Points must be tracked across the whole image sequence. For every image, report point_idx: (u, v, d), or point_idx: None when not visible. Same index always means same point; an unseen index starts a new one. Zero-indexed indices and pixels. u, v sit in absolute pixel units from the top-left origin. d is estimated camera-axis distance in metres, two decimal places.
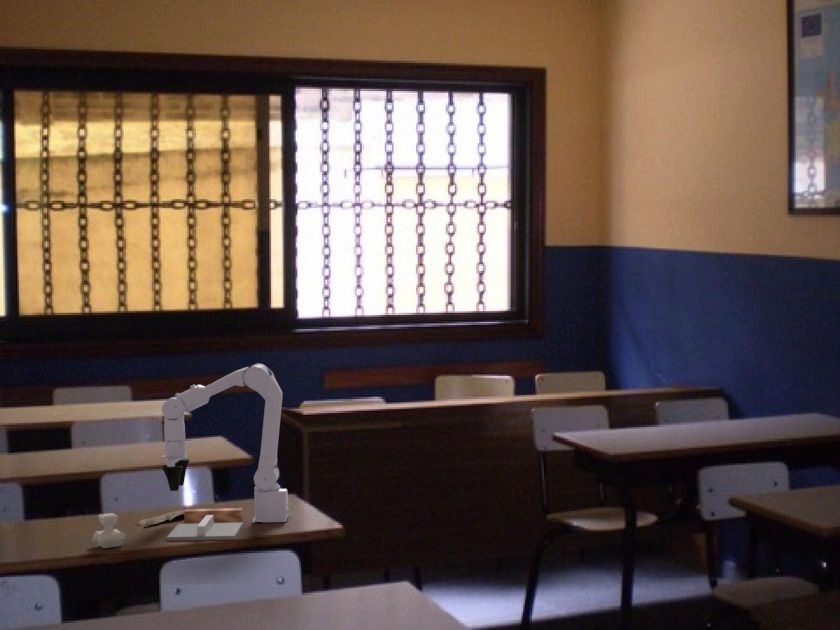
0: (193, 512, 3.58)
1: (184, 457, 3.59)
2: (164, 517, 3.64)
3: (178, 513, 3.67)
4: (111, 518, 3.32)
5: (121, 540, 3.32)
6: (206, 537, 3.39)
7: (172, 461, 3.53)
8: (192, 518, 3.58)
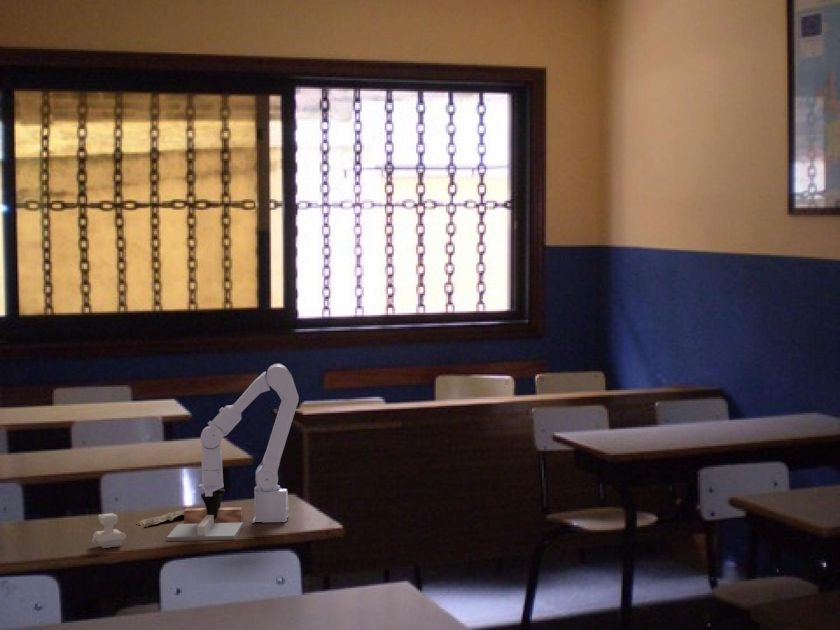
0: (193, 511, 3.58)
1: (221, 486, 3.58)
2: (165, 517, 3.64)
3: (179, 513, 3.67)
4: (111, 518, 3.32)
5: (121, 540, 3.32)
6: (206, 537, 3.39)
7: (210, 491, 3.52)
8: (192, 517, 3.58)
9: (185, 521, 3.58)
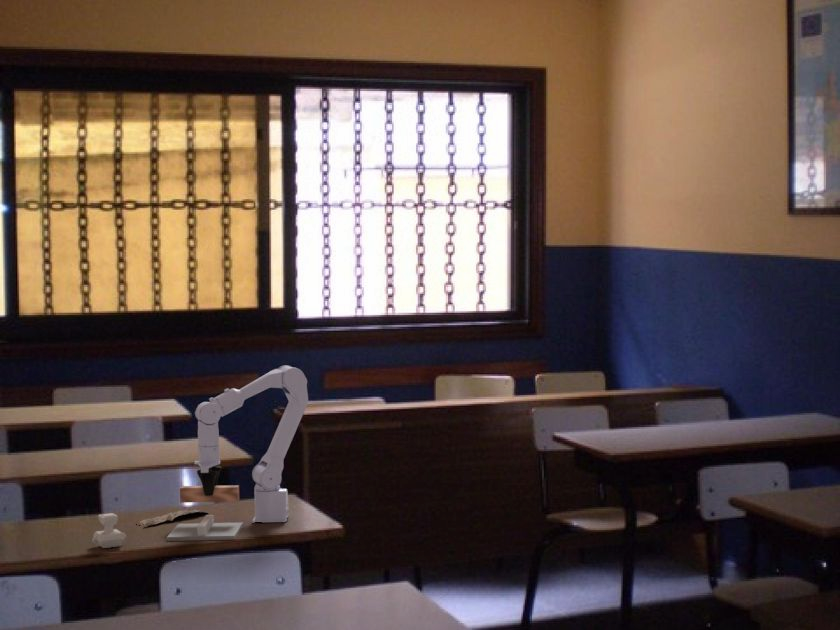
0: (189, 489, 3.54)
1: (218, 463, 3.53)
2: (165, 517, 3.63)
3: (180, 513, 3.66)
4: (111, 518, 3.32)
5: (121, 540, 3.32)
6: (206, 537, 3.39)
7: (206, 467, 3.47)
8: (188, 495, 3.54)
9: (181, 499, 3.54)
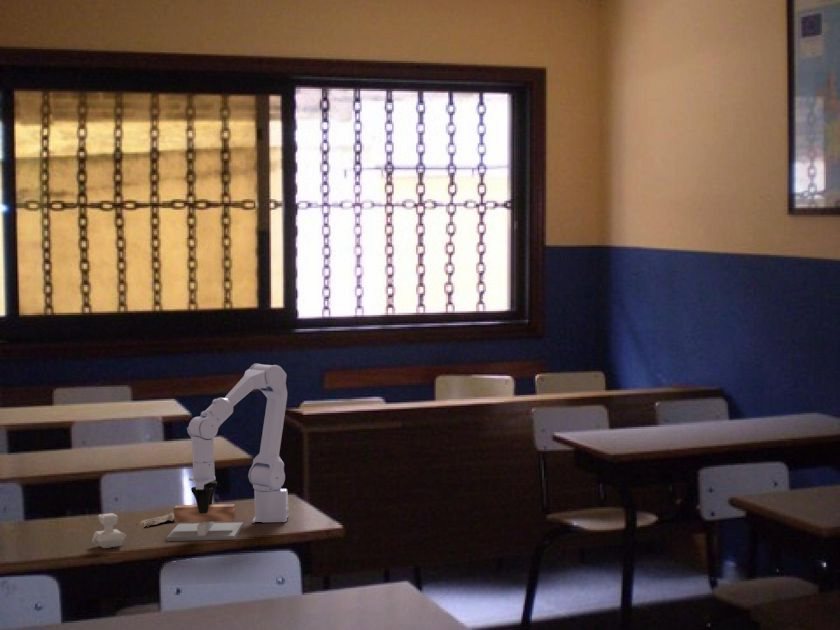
0: (183, 508, 3.45)
1: (213, 479, 3.44)
2: (166, 517, 3.63)
3: None
4: (111, 518, 3.32)
5: (121, 540, 3.32)
6: (206, 537, 3.39)
7: (201, 483, 3.39)
8: (182, 514, 3.45)
9: (175, 518, 3.45)
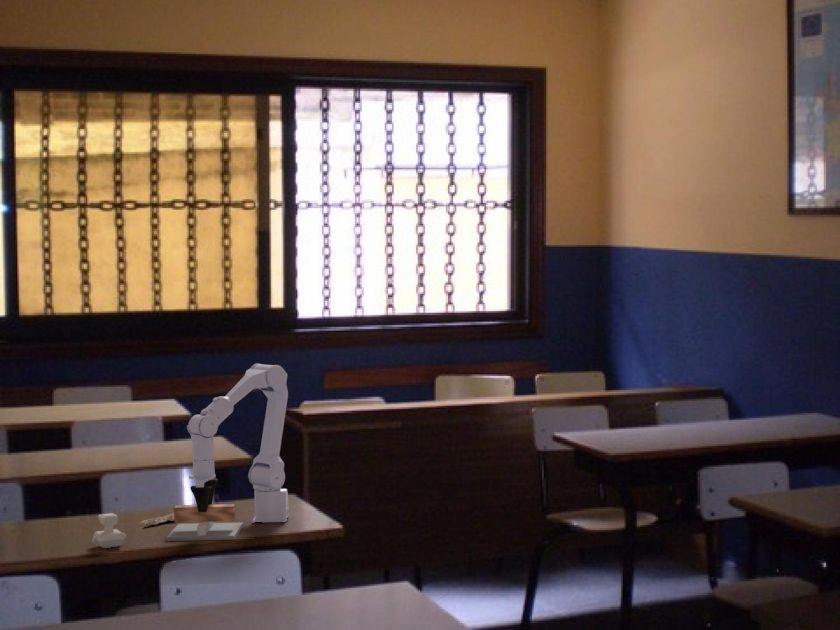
0: (183, 508, 3.45)
1: (213, 477, 3.44)
2: (166, 517, 3.63)
3: None
4: (111, 518, 3.32)
5: (121, 540, 3.32)
6: (206, 537, 3.39)
7: (201, 481, 3.39)
8: (182, 514, 3.45)
9: (175, 518, 3.45)
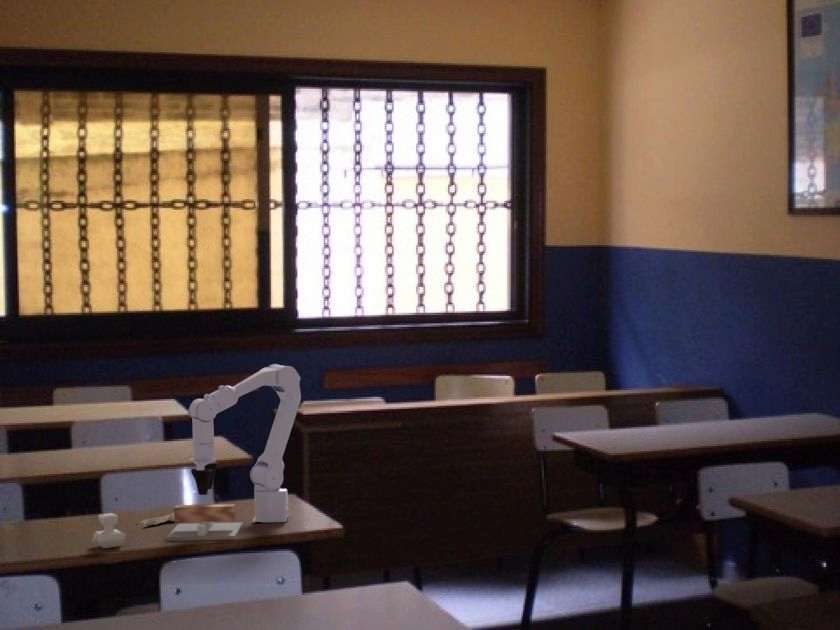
0: (183, 508, 3.45)
1: (213, 460, 3.49)
2: (167, 517, 3.63)
3: None
4: (111, 518, 3.32)
5: (121, 540, 3.32)
6: (206, 537, 3.39)
7: (201, 464, 3.43)
8: (182, 514, 3.45)
9: (175, 518, 3.45)
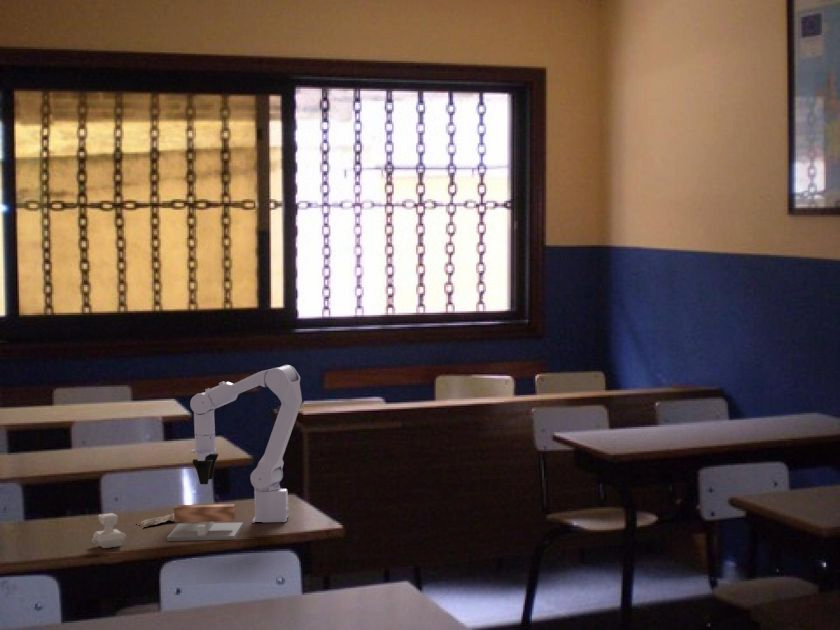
0: (183, 508, 3.45)
1: (214, 451, 3.64)
2: (167, 517, 3.63)
3: None
4: (111, 519, 3.32)
5: (121, 540, 3.32)
6: (206, 537, 3.39)
7: (202, 455, 3.58)
8: (182, 514, 3.45)
9: (175, 518, 3.45)
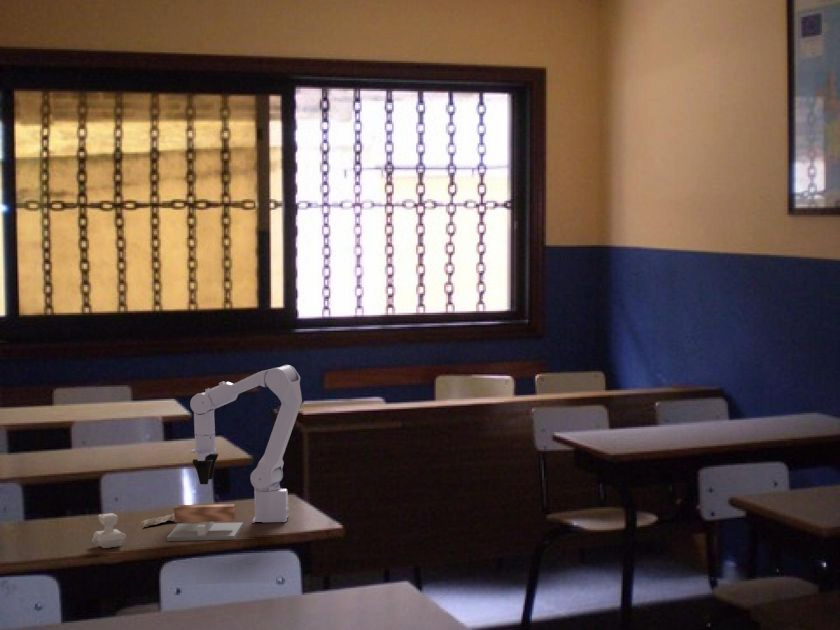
0: (183, 508, 3.45)
1: (214, 451, 3.64)
2: (167, 517, 3.63)
3: None
4: (111, 519, 3.32)
5: (121, 540, 3.32)
6: (206, 537, 3.39)
7: (202, 455, 3.58)
8: (182, 514, 3.45)
9: (175, 518, 3.45)
